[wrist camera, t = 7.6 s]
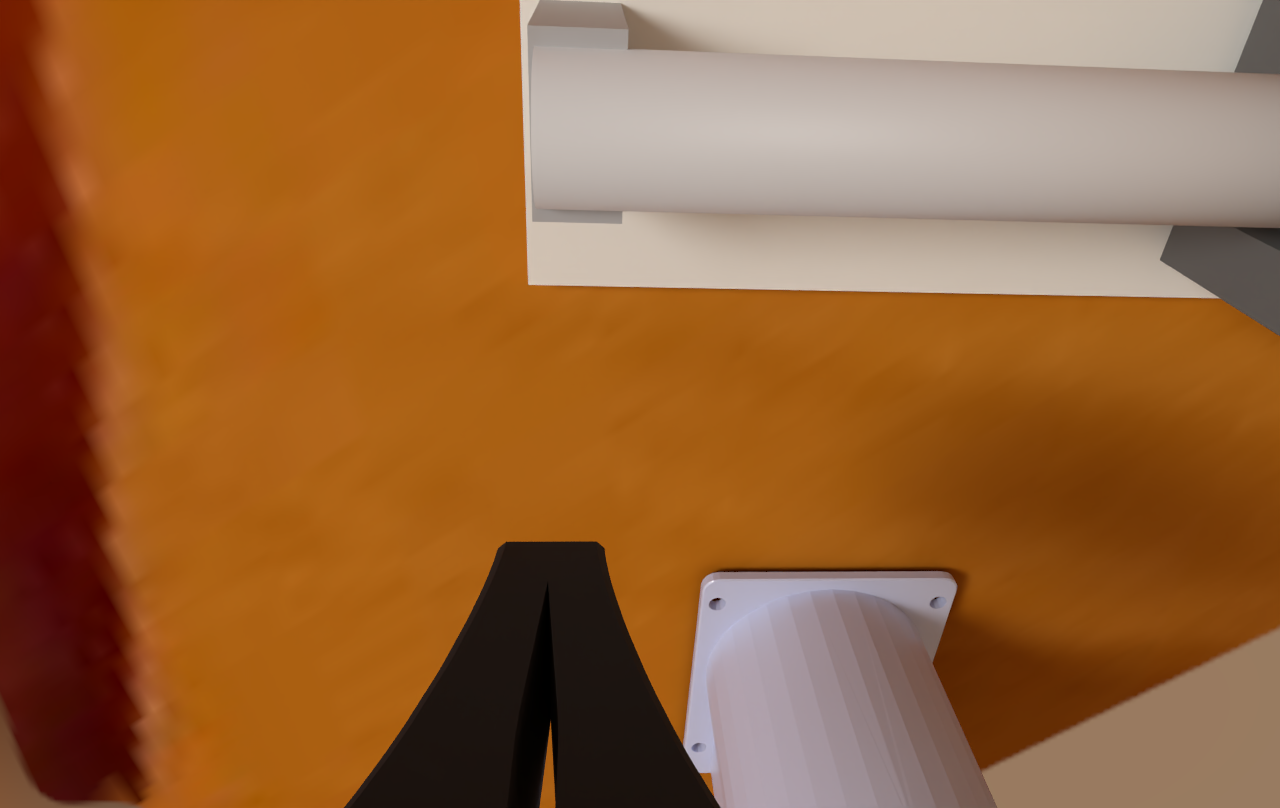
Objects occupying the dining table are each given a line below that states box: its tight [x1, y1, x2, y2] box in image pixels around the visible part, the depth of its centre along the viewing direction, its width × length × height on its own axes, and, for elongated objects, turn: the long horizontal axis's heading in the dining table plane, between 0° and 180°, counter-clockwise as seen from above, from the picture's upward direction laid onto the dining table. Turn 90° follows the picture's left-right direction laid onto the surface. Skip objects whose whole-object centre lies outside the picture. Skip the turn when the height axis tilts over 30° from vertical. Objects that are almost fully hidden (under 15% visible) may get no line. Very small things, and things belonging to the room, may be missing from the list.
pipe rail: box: [520, 0, 1280, 298], centre depth 16 cm, size 22×9×6 cm, turn 88°
